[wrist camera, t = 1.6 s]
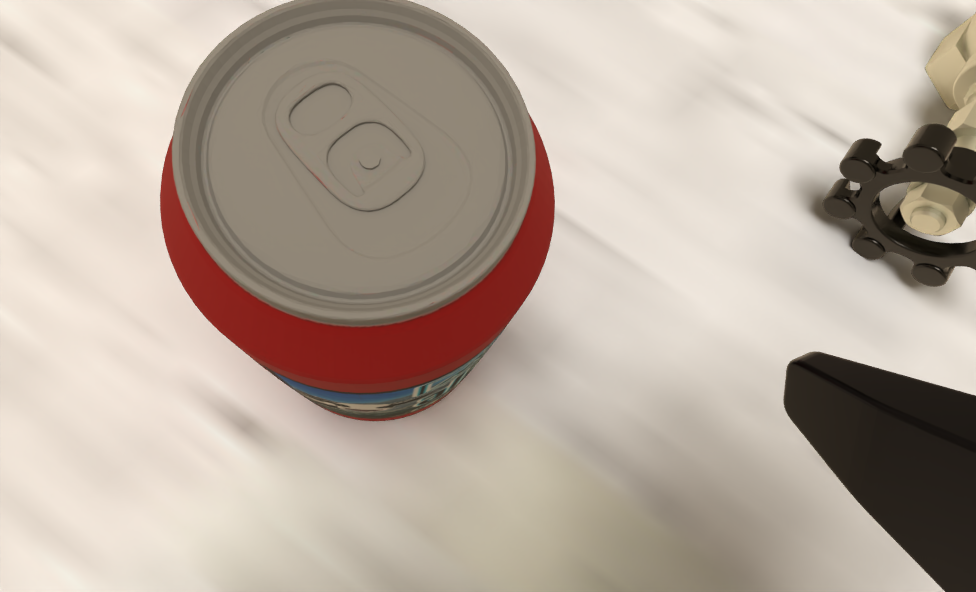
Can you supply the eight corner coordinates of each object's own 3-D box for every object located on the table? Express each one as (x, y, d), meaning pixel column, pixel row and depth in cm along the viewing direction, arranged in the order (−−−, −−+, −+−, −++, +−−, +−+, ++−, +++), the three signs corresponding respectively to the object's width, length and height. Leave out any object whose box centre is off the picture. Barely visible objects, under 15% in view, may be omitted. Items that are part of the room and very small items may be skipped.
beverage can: (371, 470, 20) (339, 479, 9) (225, 311, 21) (13, 120, 9) (525, 323, 22) (667, 167, 10) (386, 180, 23) (377, -117, 11)
